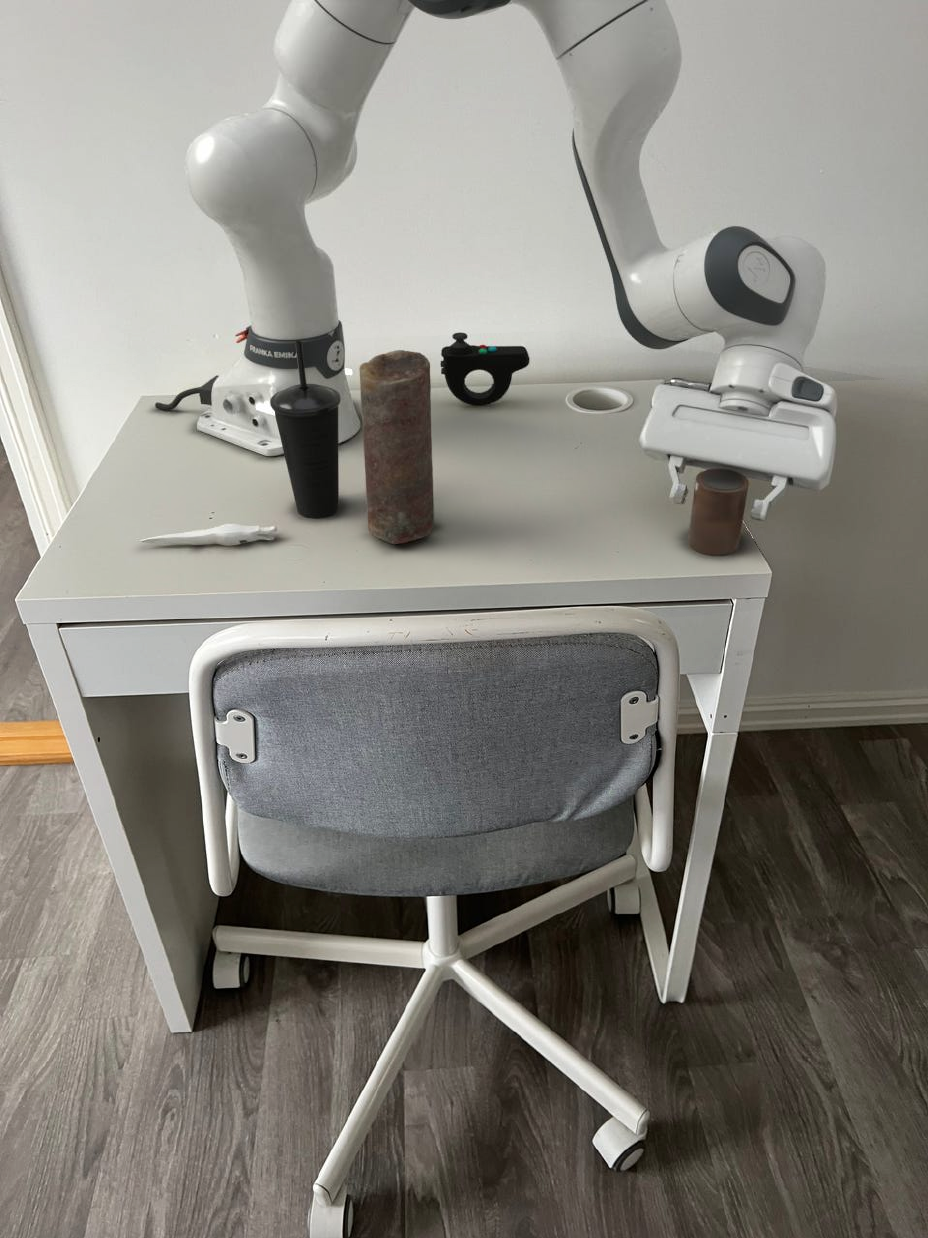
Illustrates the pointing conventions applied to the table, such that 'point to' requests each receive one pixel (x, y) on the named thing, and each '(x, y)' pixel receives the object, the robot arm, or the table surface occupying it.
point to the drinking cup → (310, 442)
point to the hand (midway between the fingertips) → (716, 510)
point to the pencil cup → (717, 511)
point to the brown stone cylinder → (398, 445)
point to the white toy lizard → (216, 535)
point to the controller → (480, 368)
